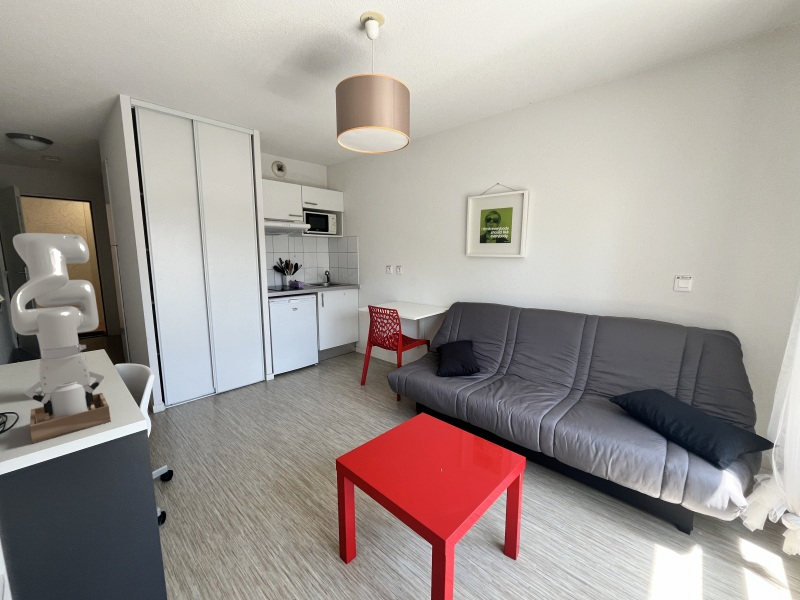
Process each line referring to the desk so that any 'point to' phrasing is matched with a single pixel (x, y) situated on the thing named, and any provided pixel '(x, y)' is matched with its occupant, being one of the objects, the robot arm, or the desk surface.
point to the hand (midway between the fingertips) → (70, 409)
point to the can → (68, 400)
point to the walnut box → (68, 420)
